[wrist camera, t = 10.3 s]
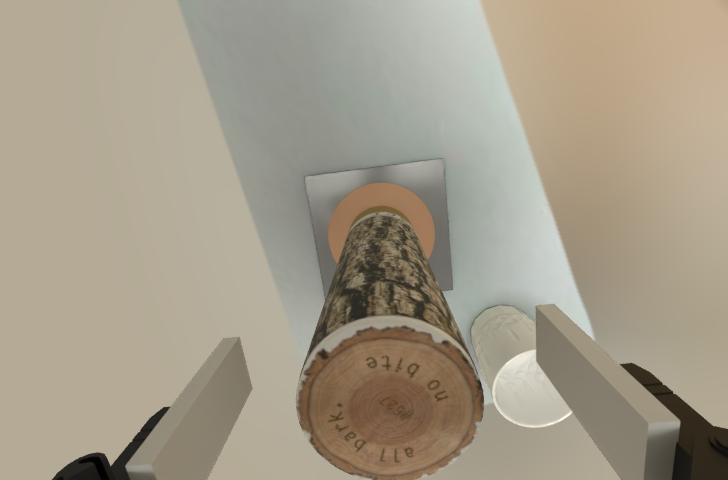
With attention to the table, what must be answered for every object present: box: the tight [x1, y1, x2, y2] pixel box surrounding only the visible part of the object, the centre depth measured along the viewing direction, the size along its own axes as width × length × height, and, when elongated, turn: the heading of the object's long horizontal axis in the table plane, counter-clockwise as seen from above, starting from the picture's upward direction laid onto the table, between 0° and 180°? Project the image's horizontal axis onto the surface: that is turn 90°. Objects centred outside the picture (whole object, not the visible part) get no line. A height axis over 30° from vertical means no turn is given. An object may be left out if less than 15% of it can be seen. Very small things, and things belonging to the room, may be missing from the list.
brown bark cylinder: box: [296, 206, 484, 480], centre depth 25 cm, size 7×7×25 cm
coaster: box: [304, 158, 453, 300], centre depth 38 cm, size 14×14×1 cm
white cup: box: [471, 305, 573, 427], centre depth 36 cm, size 8×8×10 cm
